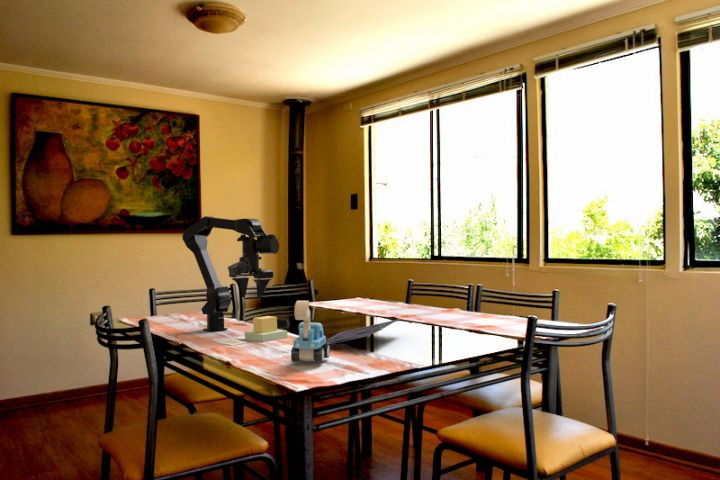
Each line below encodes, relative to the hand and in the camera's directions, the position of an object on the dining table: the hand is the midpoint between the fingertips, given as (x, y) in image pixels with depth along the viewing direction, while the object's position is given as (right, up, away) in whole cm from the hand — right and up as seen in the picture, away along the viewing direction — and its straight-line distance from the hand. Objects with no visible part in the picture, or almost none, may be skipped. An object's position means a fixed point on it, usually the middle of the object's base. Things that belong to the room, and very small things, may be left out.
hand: (251, 298), depth 193 cm
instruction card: (-2, -13, -18) cm, 22 cm away
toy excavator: (+25, -12, -48) cm, 55 cm away
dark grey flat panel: (+38, -13, -16) cm, 43 cm away
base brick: (+7, -13, -10) cm, 18 cm away
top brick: (+7, -10, -10) cm, 16 cm away
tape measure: (+12, -12, +4) cm, 18 cm away
